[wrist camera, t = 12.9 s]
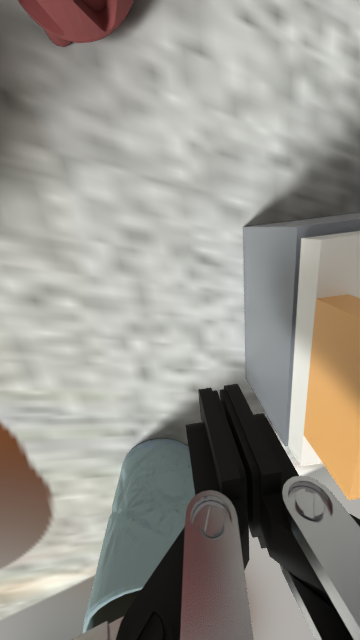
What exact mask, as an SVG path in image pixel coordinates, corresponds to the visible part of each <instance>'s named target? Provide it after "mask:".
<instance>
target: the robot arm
mask: <svg viewBox="0 0 360 640" xmlns="http://www.w3.org/2000/svg"><path fill="white" fill-rule="evenodd" d="M198 391H199V401H200V411H201V420H202V423H195V424H189V425H186V430H187V438H188V445H189V453H190V460H191V468H192V475H193V483H194V490H195V496H194V497H193V498H192V499H191V501H190V503H189V505H188V507H187V510H186V516H185V527H184V528H183V529H182V531H181V532H180V534H179V535H178V537H177V538H176V540H175V541H174V543H173V544H172V546H171V547H170V549H169V550H168V551H167V553H166V554H165V556H164V557H163V559H162V560H161V562H160V563H159V565H158V566H157V568H156V569H155V570H154V572H153V573H152V575H151V576H150V578H149V579H148V581H147V582H146V584H145V585H144V587H143V588H142V589H141V591H140V592H139V594H138V595H137V597H136V598H135V600H134V601H133V603H132V604H131V606H130V607H129V609H128V610H127V612H126V614H125V616H123V617H121V618H119V619H117V620H115V621H114V622H112V623H110V624H108V622H107V621H106V622H104V623H102V624H100V625H98V626H96V627H94V628H92V629H90V630H88V631H87V632H85V633H83V634H81V635H79V636H77V637H75V638H73V639H72V640H253V633H252V624H251V617H250V609H249V602H248V594H247V587H246V579H245V573H244V570H245V568H246V566H247V563H248V561H249V529H250V532H251V535H252V537H258V539H259V542H260V545H261V548H267V549H268V552H269V555H270V557H272V558H273V559H274V560H275V561H277V562H278V563H279V564H280V566H281V569H282V572H283V574H284V576H285V579H286V581H287V583H288V585H289V587H290V589H291V591H292V593H293V595H294V597H295V599H296V602H297V604H298V606H299V608H300V610H301V612H302V614H303V616H304V618H305V620H306V622H307V624H308V627H309V629H310V631H311V633H312V635H313V637H314V639H315V640H360V519H358V518H356V517H354V516H353V515H351V514H349V513H348V512H347V511H346V509H345V508H344V507H343V506H342V504H341V503H340V502H339V501H338V500H337V498H336V497H335V496H334V495H333V493H332V492H331V491H329V489H328V488H327V487H326V486H325V485H323V484H322V483H320V482H319V481H317V480H315V479H313V478H310V477H306V476H299V475H298V473H297V471H296V470H295V468H294V466H293V464H292V463H291V461H290V459H289V457H288V455H287V454H286V452H285V450H284V448H283V447H282V445H281V443H280V441H279V439H278V438H277V436H276V434H275V432H274V431H273V429H272V427H271V425H270V423H269V422H268V420H267V418H266V417H265V415H264V414H263V413H262V414H255V415H253V413H252V411H251V409H250V407H249V405H248V403H247V401H246V399H245V398H244V396H243V394H242V392H241V390H240V388H239V386H238V384H233V385H227V386H224V390H220V398H219V395H218V393H217V391H212V389H211V388H206V389H199V390H198ZM220 399H221V401H220ZM248 525H249V526H248Z"/></svg>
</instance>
